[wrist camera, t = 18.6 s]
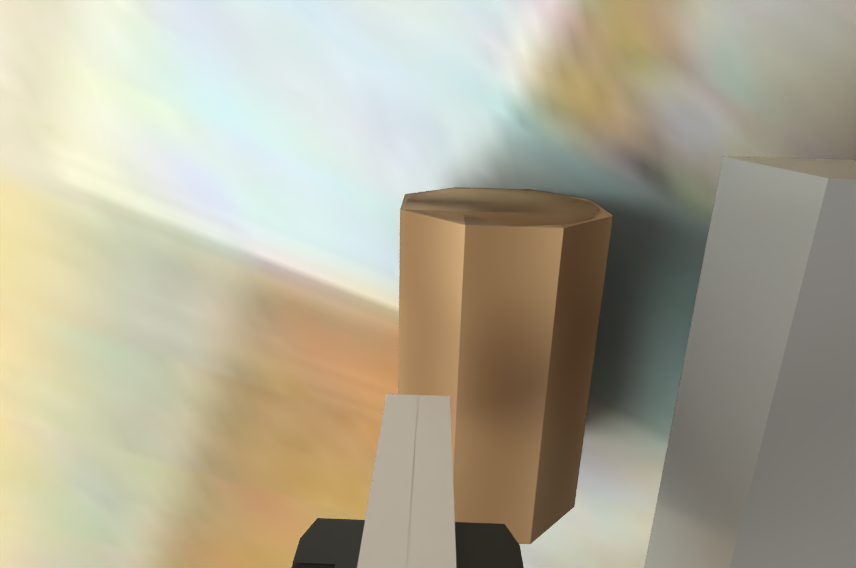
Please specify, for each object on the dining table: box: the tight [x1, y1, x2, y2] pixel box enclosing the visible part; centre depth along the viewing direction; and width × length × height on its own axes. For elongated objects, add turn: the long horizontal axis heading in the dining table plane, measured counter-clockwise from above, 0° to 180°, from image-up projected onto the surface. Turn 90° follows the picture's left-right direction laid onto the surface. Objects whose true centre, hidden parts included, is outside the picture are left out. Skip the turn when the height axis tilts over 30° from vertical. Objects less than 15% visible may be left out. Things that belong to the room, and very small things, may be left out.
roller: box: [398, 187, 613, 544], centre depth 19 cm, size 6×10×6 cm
